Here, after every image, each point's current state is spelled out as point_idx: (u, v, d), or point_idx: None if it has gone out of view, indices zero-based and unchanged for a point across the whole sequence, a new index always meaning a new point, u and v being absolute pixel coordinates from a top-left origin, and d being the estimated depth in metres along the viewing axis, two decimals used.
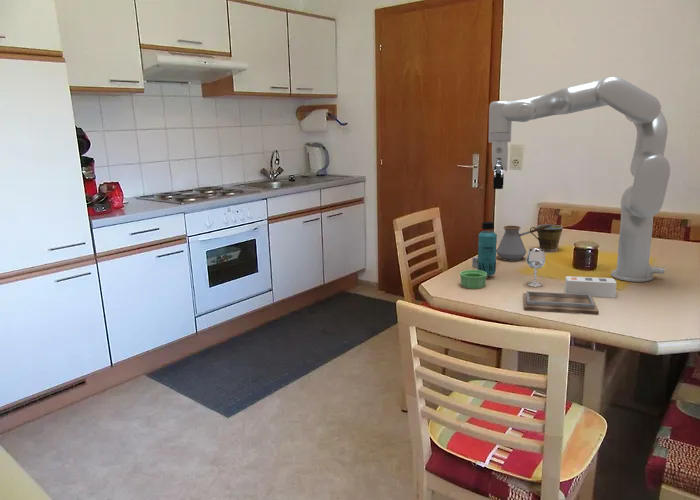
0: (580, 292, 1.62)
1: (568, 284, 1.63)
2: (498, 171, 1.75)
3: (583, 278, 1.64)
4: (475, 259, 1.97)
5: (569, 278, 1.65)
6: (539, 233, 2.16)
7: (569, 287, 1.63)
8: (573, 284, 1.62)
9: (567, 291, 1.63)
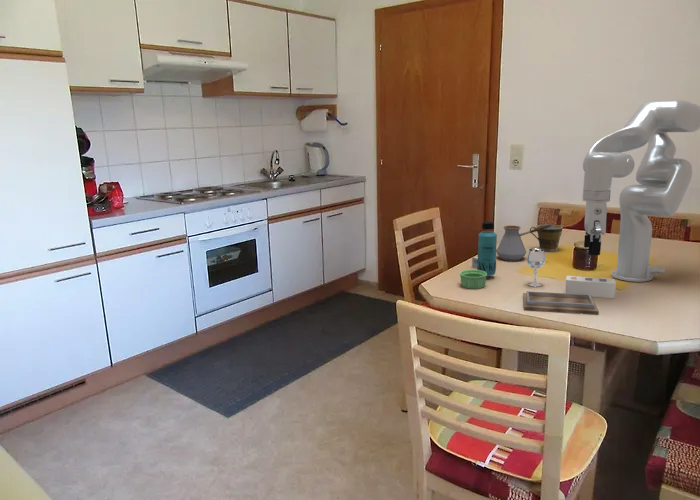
0: (579, 292, 1.62)
1: (567, 283, 1.63)
2: (597, 236, 1.51)
3: (583, 278, 1.64)
4: (475, 259, 1.96)
5: (569, 277, 1.65)
6: (539, 233, 2.16)
7: (568, 286, 1.63)
8: (572, 284, 1.63)
9: (566, 290, 1.64)
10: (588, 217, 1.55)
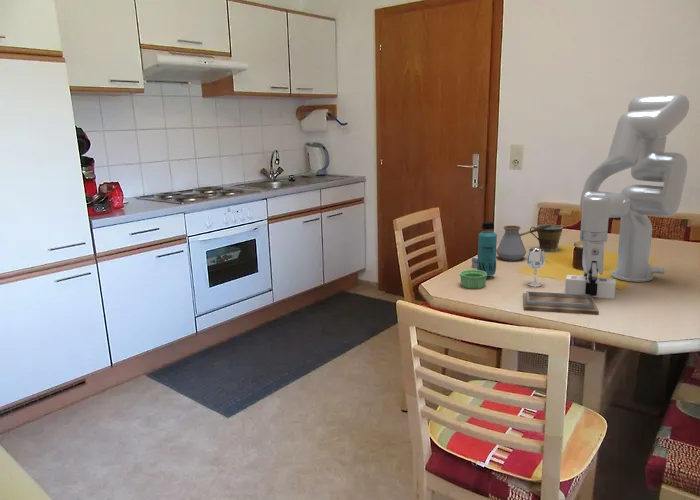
0: (579, 291, 1.62)
1: (567, 282, 1.64)
2: None
3: (584, 277, 1.64)
4: (475, 259, 1.96)
5: (569, 276, 1.65)
6: (539, 233, 2.16)
7: (568, 285, 1.64)
8: (572, 283, 1.63)
9: (566, 289, 1.64)
10: (586, 257, 1.58)
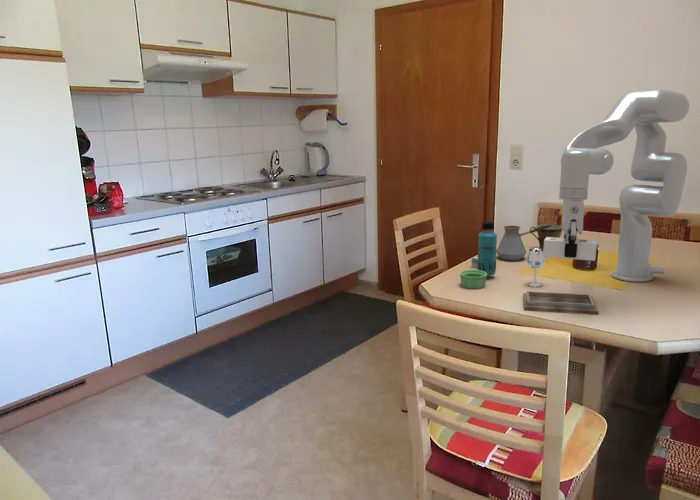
0: (557, 253, 1.53)
1: (545, 244, 1.54)
2: None
3: (563, 239, 1.54)
4: (474, 259, 1.96)
5: (548, 238, 1.56)
6: (539, 233, 2.16)
7: (546, 247, 1.54)
8: (550, 244, 1.53)
9: (544, 251, 1.55)
10: (565, 216, 1.48)
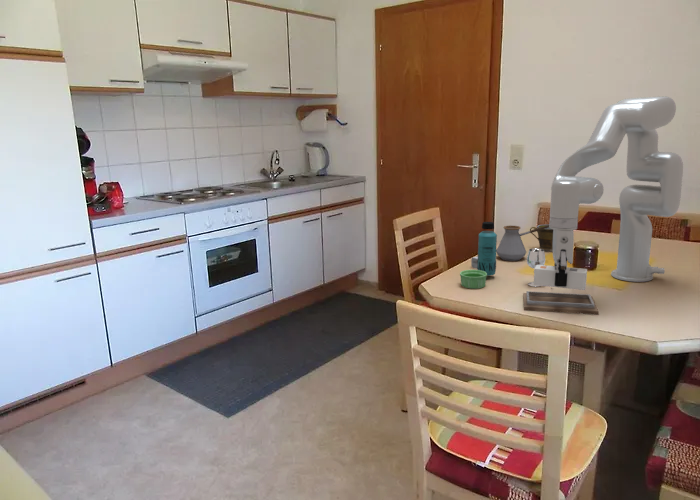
0: (548, 282, 1.53)
1: (535, 272, 1.54)
2: None
3: (553, 267, 1.54)
4: (474, 259, 1.96)
5: (538, 266, 1.56)
6: (539, 233, 2.16)
7: (536, 276, 1.54)
8: (540, 273, 1.53)
9: (534, 280, 1.54)
10: (554, 246, 1.48)
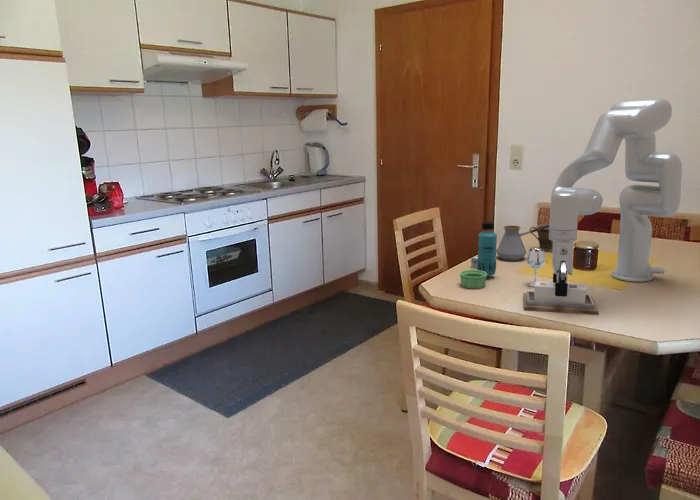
0: (548, 298, 1.54)
1: (535, 289, 1.55)
2: (563, 278, 1.46)
3: (553, 284, 1.55)
4: (474, 259, 1.96)
5: (538, 283, 1.57)
6: (539, 233, 2.16)
7: (536, 293, 1.55)
8: (541, 290, 1.54)
9: (534, 297, 1.56)
10: (554, 257, 1.49)
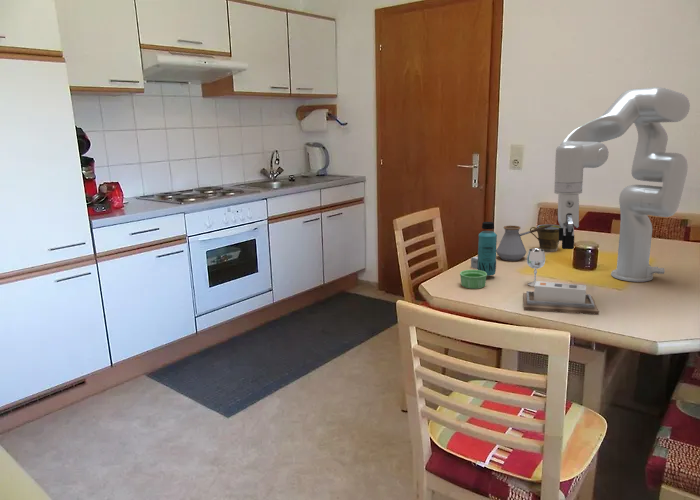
0: (548, 298, 1.54)
1: (535, 289, 1.55)
2: (569, 230, 1.46)
3: (553, 284, 1.55)
4: (474, 259, 1.96)
5: (538, 283, 1.57)
6: (539, 233, 2.16)
7: (536, 293, 1.55)
8: (541, 290, 1.54)
9: (534, 297, 1.56)
10: (560, 210, 1.50)
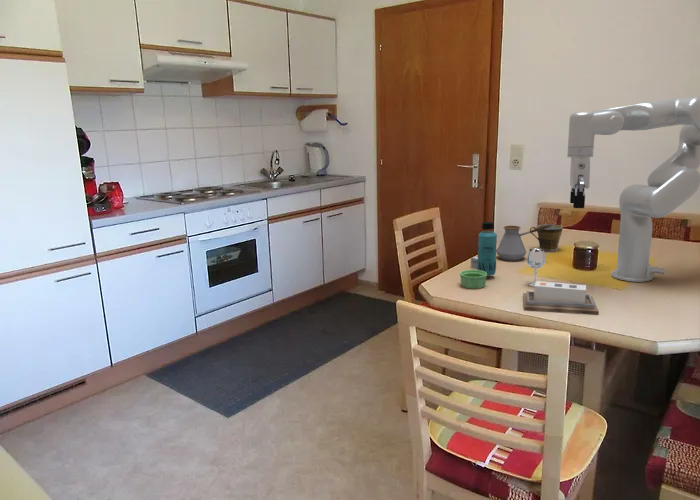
0: (548, 298, 1.54)
1: (535, 289, 1.55)
2: (581, 189, 1.60)
3: (553, 284, 1.55)
4: (473, 259, 1.96)
5: (538, 283, 1.57)
6: (539, 233, 2.16)
7: (536, 293, 1.55)
8: (541, 290, 1.54)
9: (534, 297, 1.56)
10: (573, 172, 1.63)
